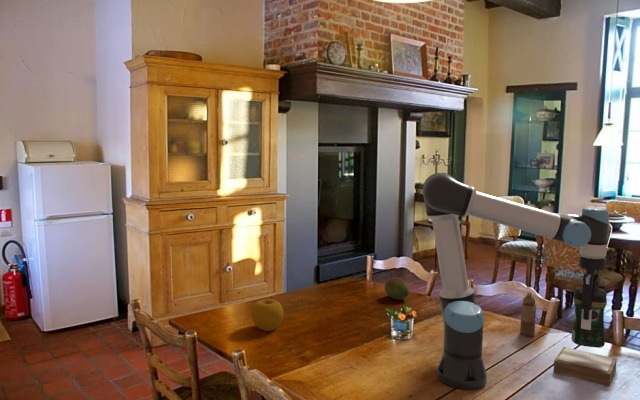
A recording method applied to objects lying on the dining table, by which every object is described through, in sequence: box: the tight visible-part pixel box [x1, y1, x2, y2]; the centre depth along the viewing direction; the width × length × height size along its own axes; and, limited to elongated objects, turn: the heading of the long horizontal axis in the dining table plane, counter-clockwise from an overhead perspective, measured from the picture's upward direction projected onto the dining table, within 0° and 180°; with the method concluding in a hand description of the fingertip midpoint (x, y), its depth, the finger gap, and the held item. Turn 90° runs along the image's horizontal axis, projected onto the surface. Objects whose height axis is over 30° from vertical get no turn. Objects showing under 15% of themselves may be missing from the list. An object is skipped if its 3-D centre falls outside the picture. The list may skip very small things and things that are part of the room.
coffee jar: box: [570, 286, 608, 349], centre depth 164 cm, size 10×8×19 cm
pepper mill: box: [519, 291, 537, 338], centre depth 197 cm, size 5×5×17 cm
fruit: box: [384, 276, 409, 301], centre depth 241 cm, size 12×13×10 cm
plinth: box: [553, 346, 617, 387], centre depth 165 cm, size 14×16×4 cm
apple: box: [250, 298, 284, 332], centre depth 201 cm, size 13×13×11 cm
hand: (588, 324), depth 164 cm, fingers closed on coffee jar, 8 cm apart
